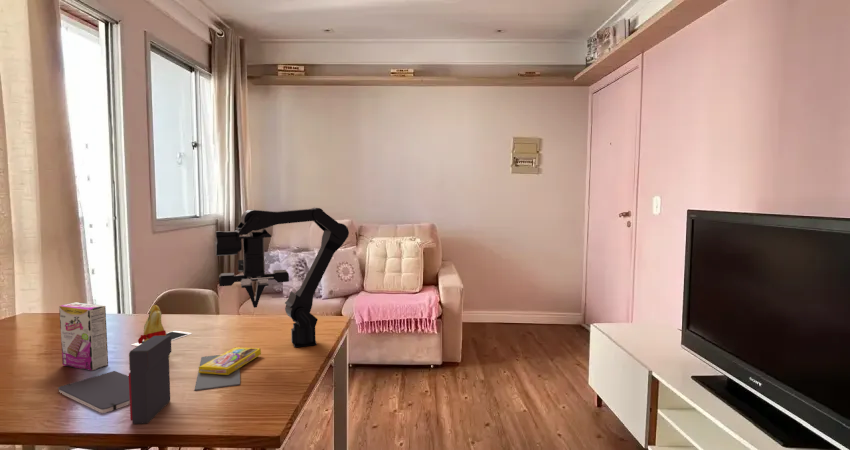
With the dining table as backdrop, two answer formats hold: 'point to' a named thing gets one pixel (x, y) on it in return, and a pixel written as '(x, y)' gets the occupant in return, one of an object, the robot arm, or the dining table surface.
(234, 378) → the mat
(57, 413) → the dining table surface
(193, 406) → the dining table surface
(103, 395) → the notebook
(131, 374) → the dark grey upright slab
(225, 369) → the candy box
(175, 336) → the cell phone
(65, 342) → the candy bar box
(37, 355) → the dining table surface
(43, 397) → the dining table surface
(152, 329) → the chocolate bunny
